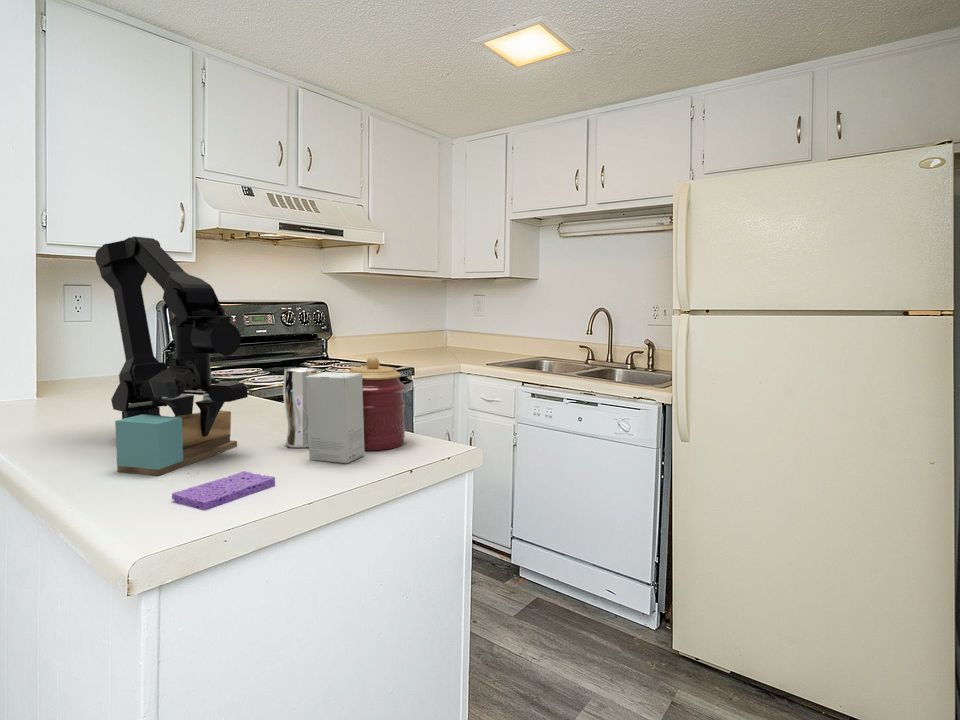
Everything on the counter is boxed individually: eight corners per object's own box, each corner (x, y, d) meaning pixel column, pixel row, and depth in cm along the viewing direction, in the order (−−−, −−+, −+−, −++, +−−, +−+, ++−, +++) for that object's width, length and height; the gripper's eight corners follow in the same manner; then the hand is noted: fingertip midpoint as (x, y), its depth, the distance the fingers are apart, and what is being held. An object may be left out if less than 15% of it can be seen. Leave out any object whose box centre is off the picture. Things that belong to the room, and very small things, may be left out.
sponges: (275, 488, 90) (275, 476, 89) (204, 514, 78) (203, 501, 78) (244, 481, 93) (244, 470, 93) (171, 505, 82) (170, 492, 81)
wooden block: (156, 447, 101) (156, 419, 100) (215, 435, 114) (215, 410, 114) (172, 449, 99) (173, 421, 99) (230, 436, 113) (230, 411, 113)
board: (117, 471, 95) (116, 456, 94) (201, 443, 114) (201, 430, 114) (158, 475, 93) (158, 460, 93) (237, 446, 112) (236, 433, 112)
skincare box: (365, 456, 107) (365, 373, 106) (345, 465, 101) (345, 377, 100) (326, 451, 110) (326, 370, 108) (305, 460, 104) (304, 374, 102)
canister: (334, 438, 120) (334, 354, 118) (395, 434, 125) (396, 353, 123) (346, 454, 108) (345, 361, 106) (412, 448, 113) (413, 359, 112)
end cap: (117, 465, 95) (115, 420, 94) (143, 457, 100) (142, 414, 99) (158, 469, 93) (156, 424, 92) (183, 460, 98) (181, 417, 97)
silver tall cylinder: (310, 449, 111) (310, 372, 109) (276, 447, 112) (276, 370, 110) (325, 441, 118) (326, 368, 116) (293, 439, 119) (293, 367, 117)
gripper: (113, 353, 99) (117, 442, 101) (207, 358, 95) (209, 450, 97) (162, 348, 110) (165, 428, 112) (248, 352, 106) (250, 435, 108)
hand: (195, 435), depth 107 cm, fingers closed on wooden block, 4 cm apart
